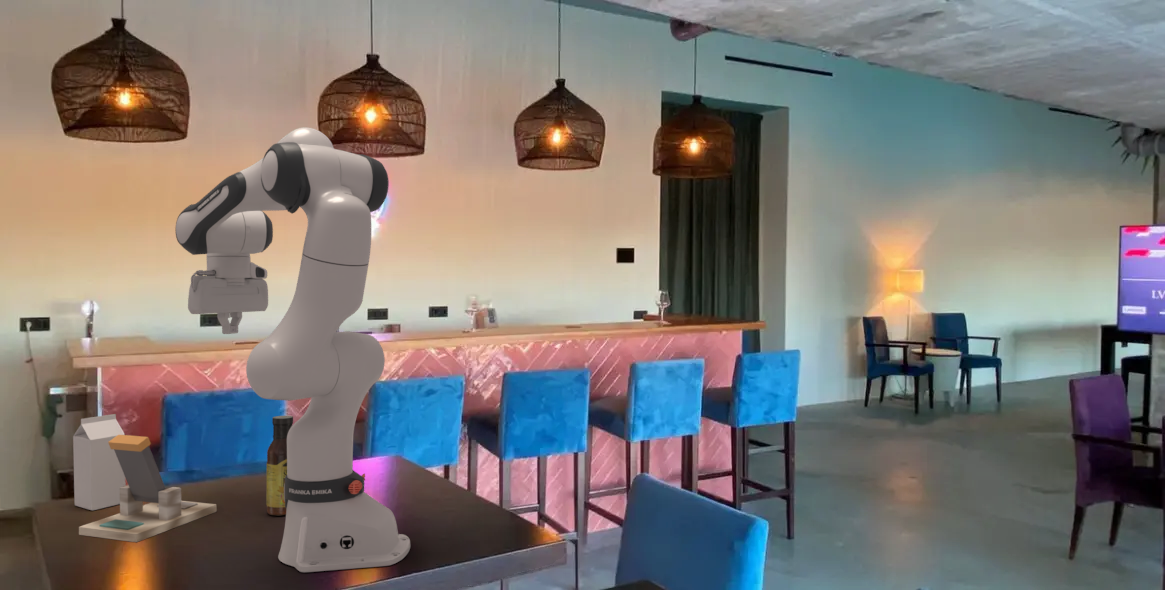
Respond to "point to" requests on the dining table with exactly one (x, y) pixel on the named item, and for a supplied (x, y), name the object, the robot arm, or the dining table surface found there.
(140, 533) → the switch base
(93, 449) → the milk carton
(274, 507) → the sauce bottle
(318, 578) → the dining table surface
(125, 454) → the rocker lever
